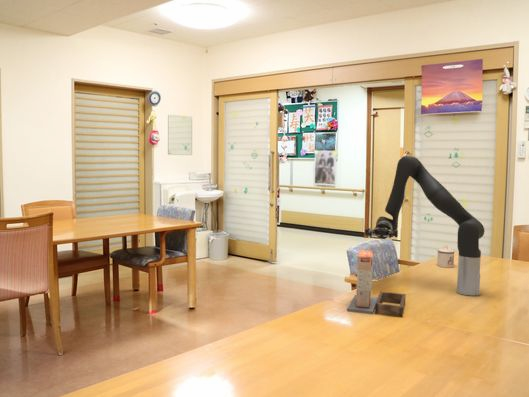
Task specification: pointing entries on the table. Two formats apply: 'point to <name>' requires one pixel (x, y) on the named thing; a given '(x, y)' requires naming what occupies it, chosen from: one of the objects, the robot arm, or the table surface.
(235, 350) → the table surface
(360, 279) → the cracker box
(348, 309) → the flat gray rectangular board
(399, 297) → the walnut collar
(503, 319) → the table surface
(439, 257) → the teacup with lid
